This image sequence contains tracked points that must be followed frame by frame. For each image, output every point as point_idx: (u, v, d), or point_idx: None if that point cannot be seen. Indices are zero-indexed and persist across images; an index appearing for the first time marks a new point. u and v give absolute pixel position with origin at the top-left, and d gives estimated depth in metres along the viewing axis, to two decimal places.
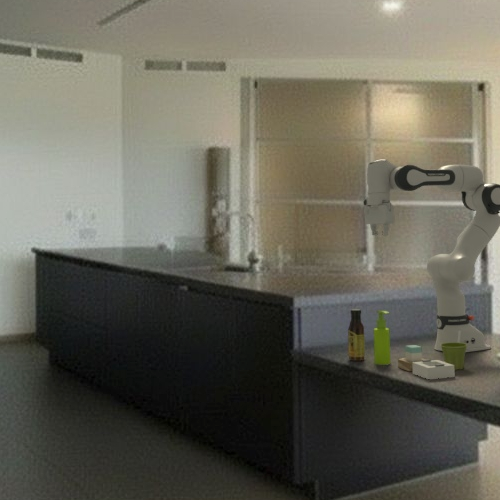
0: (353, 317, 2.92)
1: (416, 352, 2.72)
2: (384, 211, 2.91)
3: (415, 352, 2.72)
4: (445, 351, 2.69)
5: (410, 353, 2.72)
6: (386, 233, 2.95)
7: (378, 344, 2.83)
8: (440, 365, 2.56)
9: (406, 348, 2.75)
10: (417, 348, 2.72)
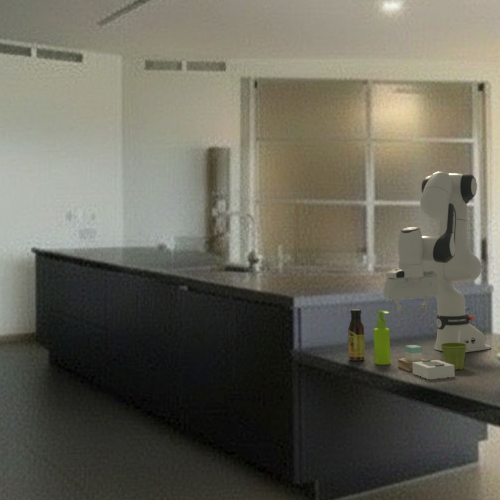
0: (353, 317, 2.92)
1: (416, 352, 2.72)
2: (434, 283, 2.74)
3: (415, 352, 2.72)
4: (445, 351, 2.69)
5: (410, 353, 2.72)
6: None
7: (378, 344, 2.83)
8: (440, 365, 2.56)
9: (406, 348, 2.75)
10: (417, 348, 2.72)
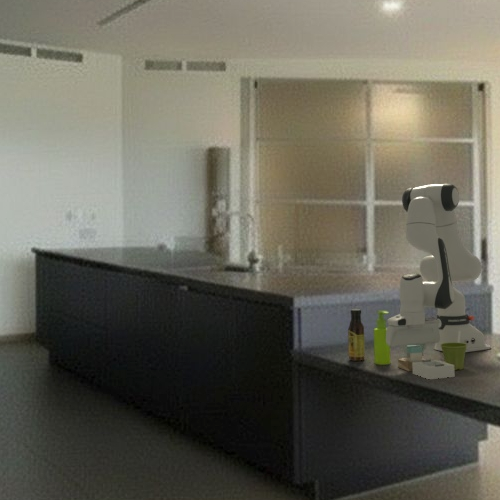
0: (353, 317, 2.92)
1: (416, 352, 2.72)
2: (435, 330, 2.74)
3: (415, 352, 2.72)
4: (445, 351, 2.69)
5: (410, 353, 2.72)
6: None
7: (378, 344, 2.83)
8: (440, 365, 2.56)
9: (406, 348, 2.75)
10: (417, 348, 2.72)
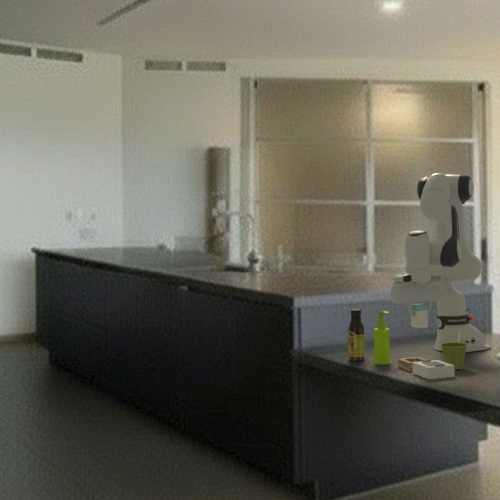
0: (353, 317, 2.92)
1: (421, 310, 2.65)
2: (441, 288, 2.68)
3: (420, 310, 2.65)
4: (445, 351, 2.69)
5: (415, 311, 2.66)
6: None
7: (378, 344, 2.83)
8: (440, 365, 2.56)
9: (411, 306, 2.69)
10: (422, 306, 2.65)
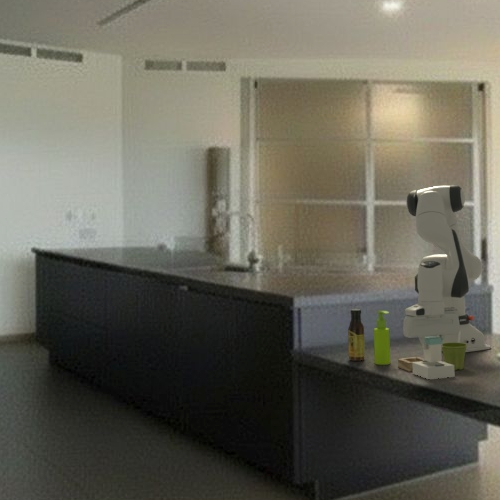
0: (353, 317, 2.92)
1: (435, 344, 2.58)
2: (455, 320, 2.61)
3: (434, 343, 2.58)
4: (445, 351, 2.69)
5: (429, 345, 2.59)
6: None
7: (378, 344, 2.83)
8: (440, 365, 2.56)
9: None
10: (436, 339, 2.58)
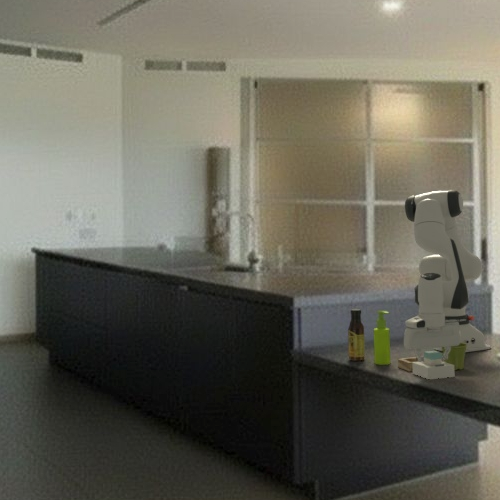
0: (353, 317, 2.92)
1: (436, 358, 2.58)
2: (455, 332, 2.61)
3: (435, 358, 2.58)
4: None
5: (429, 359, 2.59)
6: None
7: (378, 344, 2.83)
8: (440, 365, 2.56)
9: (425, 354, 2.62)
10: (437, 354, 2.58)
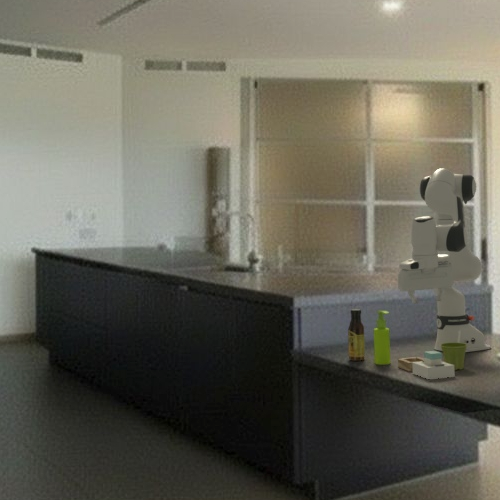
0: (353, 317, 2.92)
1: (436, 358, 2.58)
2: (448, 274, 2.66)
3: (435, 358, 2.58)
4: (445, 351, 2.69)
5: (429, 359, 2.59)
6: None
7: (378, 344, 2.83)
8: (440, 365, 2.56)
9: (425, 354, 2.62)
10: (437, 354, 2.58)
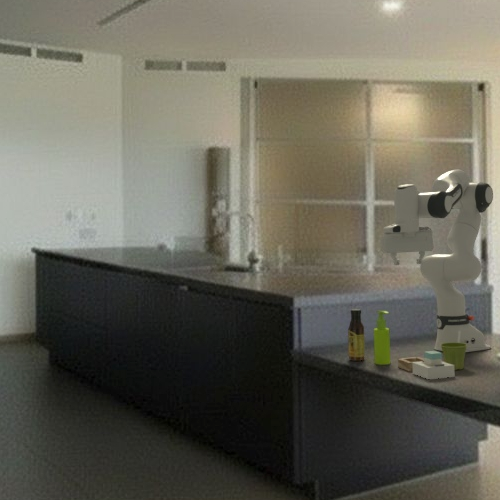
0: (353, 317, 2.92)
1: (436, 358, 2.58)
2: (429, 238, 2.84)
3: (435, 358, 2.58)
4: (445, 351, 2.69)
5: (429, 359, 2.59)
6: None
7: (378, 344, 2.83)
8: (440, 365, 2.56)
9: (425, 354, 2.62)
10: (437, 354, 2.58)
